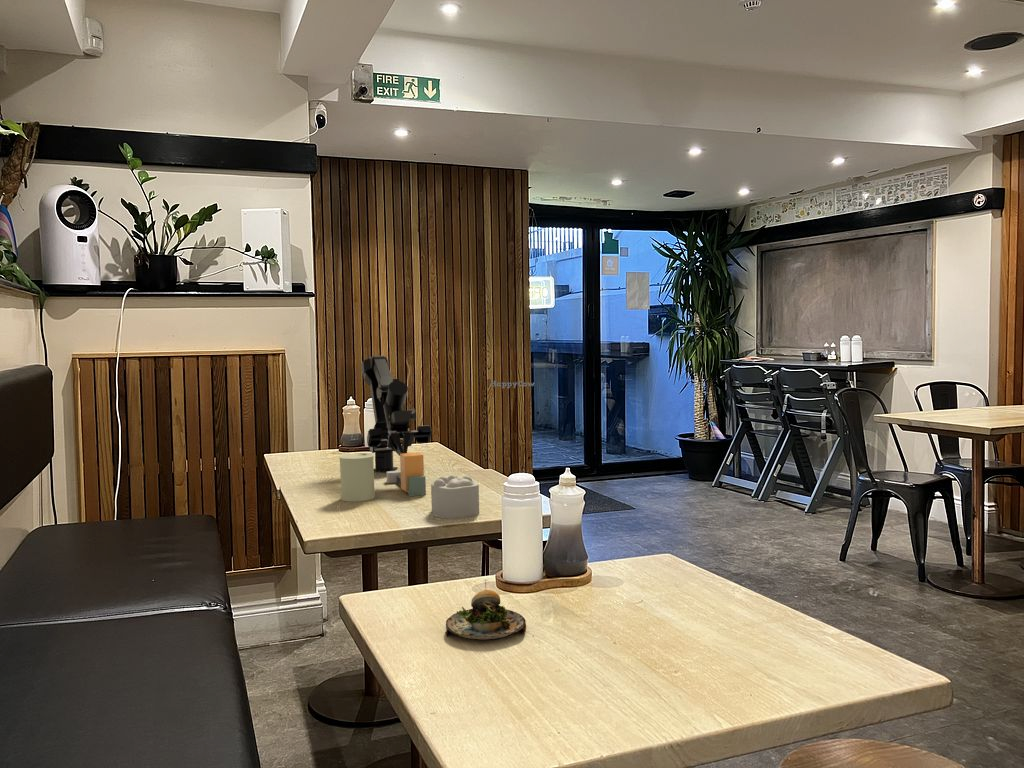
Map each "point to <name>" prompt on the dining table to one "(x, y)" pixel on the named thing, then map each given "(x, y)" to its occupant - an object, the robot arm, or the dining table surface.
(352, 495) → the can
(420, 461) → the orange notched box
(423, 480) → the toy mallet
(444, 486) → the lumpy-topped squat cylinder
